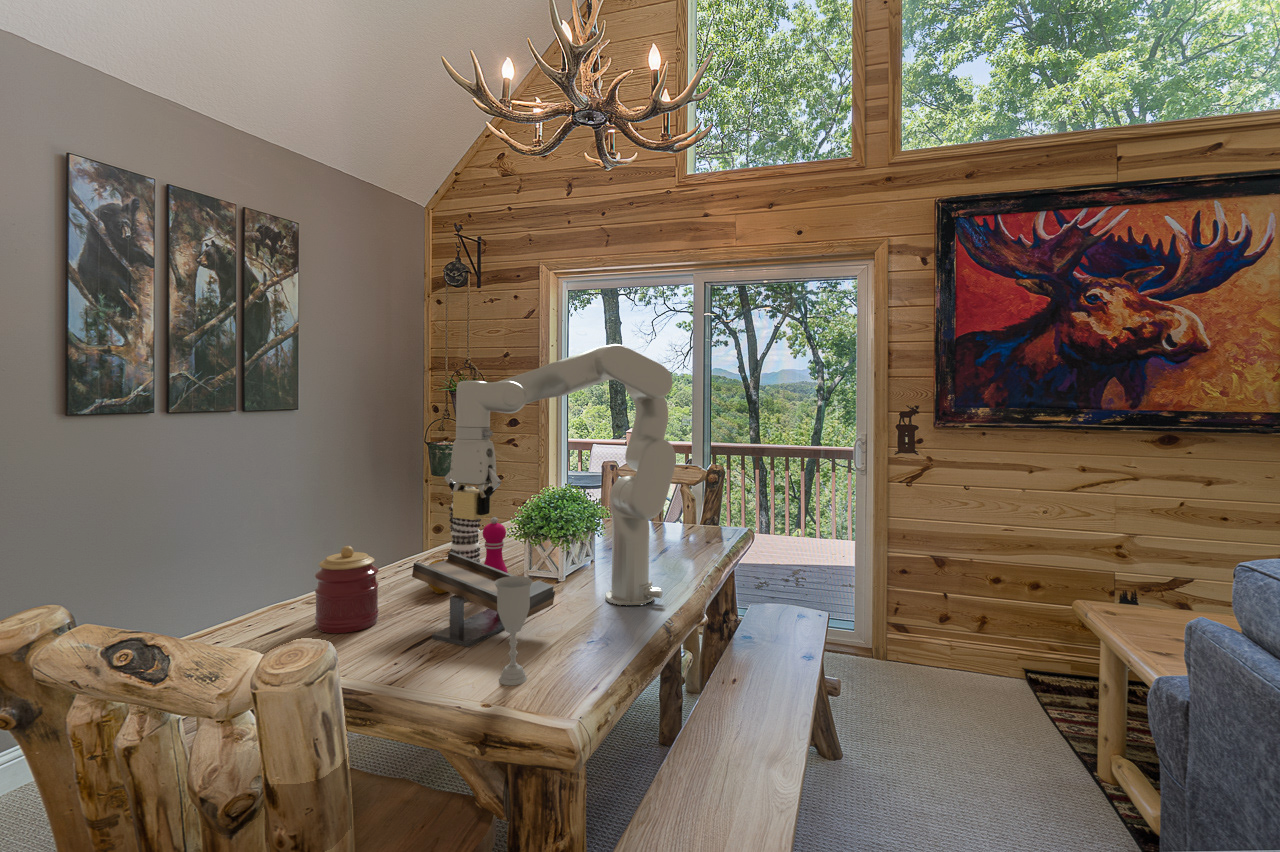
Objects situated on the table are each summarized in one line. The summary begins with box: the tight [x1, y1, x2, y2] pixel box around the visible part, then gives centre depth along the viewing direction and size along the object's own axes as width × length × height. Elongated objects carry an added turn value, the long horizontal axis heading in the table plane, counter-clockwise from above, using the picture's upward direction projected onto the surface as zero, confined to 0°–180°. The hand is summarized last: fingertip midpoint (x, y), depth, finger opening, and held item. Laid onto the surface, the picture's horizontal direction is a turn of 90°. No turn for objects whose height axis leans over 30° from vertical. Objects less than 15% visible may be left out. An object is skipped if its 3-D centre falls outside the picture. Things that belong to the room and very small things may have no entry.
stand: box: [431, 594, 505, 648], centre depth 142 cm, size 10×20×9 cm, turn 154°
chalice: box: [495, 575, 534, 686], centre depth 116 cm, size 7×7×18 cm
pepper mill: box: [482, 517, 509, 573], centre depth 167 cm, size 7×7×20 cm
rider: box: [453, 488, 492, 520], centre depth 146 cm, size 6×6×6 cm
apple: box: [427, 558, 449, 595], centre depth 167 cm, size 9×9×9 cm
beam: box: [411, 551, 556, 619], centre depth 141 cm, size 30×13×6 cm, turn 65°
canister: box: [314, 545, 380, 634], centre depth 143 cm, size 13×13×18 cm
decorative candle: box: [448, 485, 482, 563], centre depth 187 cm, size 9×9×25 cm
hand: (472, 512), depth 146 cm, fingers closed on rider, 6 cm apart
